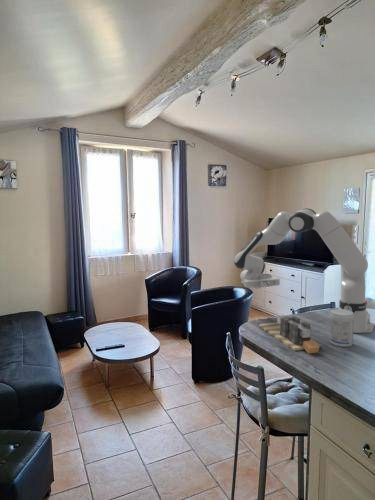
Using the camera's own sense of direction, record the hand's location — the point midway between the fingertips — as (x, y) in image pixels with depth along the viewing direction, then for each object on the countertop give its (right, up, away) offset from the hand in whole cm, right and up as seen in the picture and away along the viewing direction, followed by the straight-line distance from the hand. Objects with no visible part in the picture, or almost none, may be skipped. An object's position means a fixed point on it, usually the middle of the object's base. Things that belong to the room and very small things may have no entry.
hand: (268, 285), depth 174 cm
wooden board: (+5, -23, -17) cm, 29 cm away
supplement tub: (+26, -24, -27) cm, 45 cm away
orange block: (+9, -22, -33) cm, 41 cm away
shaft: (+6, -20, -22) cm, 30 cm away
